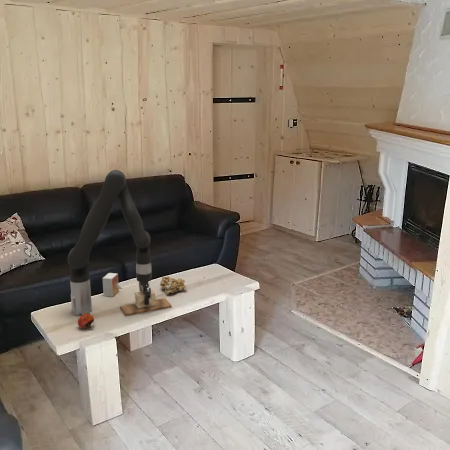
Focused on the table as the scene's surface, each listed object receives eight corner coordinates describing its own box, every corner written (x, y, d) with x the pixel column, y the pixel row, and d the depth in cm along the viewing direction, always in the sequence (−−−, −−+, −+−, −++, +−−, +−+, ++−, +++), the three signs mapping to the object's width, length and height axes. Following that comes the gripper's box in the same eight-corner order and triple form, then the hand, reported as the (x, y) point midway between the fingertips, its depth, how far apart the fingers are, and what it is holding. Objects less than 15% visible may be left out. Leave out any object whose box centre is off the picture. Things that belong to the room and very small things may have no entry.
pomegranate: (97, 330, 228) (86, 313, 232) (100, 322, 223) (89, 305, 227) (83, 337, 224) (72, 320, 227) (86, 329, 218) (75, 312, 222)
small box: (113, 297, 259) (112, 278, 256) (103, 296, 260) (102, 277, 257) (119, 291, 267) (118, 273, 264) (109, 290, 268) (108, 272, 265)
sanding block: (138, 308, 242) (137, 295, 240) (135, 305, 246) (134, 292, 244) (155, 305, 246) (155, 292, 244) (152, 301, 250) (152, 289, 248)
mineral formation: (167, 297, 259) (153, 287, 270) (188, 295, 268) (173, 285, 278) (170, 283, 257) (155, 273, 268) (190, 281, 266) (175, 271, 277)
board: (125, 316, 237) (124, 314, 237) (120, 308, 246) (120, 306, 246) (171, 307, 247) (171, 305, 247) (165, 300, 256) (165, 297, 256)
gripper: (132, 267, 246) (134, 298, 250) (140, 277, 233) (141, 309, 238) (147, 265, 249) (148, 295, 253) (155, 274, 236) (156, 306, 241)
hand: (145, 302), depth 246 cm, fingers closed on sanding block, 5 cm apart
